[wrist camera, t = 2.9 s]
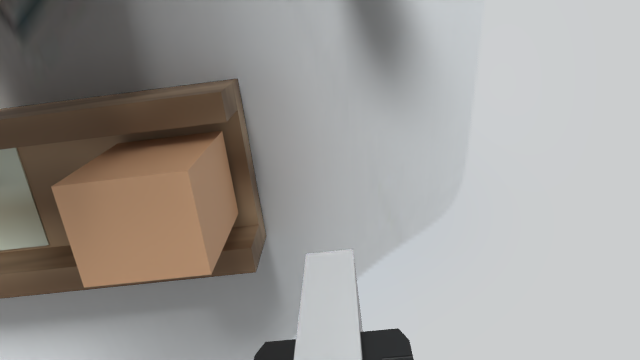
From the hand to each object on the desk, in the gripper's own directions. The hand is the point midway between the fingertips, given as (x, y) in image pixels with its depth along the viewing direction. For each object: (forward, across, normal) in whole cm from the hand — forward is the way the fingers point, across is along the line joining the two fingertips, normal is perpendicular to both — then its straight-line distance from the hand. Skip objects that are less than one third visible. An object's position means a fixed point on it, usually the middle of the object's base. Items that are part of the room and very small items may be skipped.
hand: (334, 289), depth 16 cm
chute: (+15, -16, 0) cm, 22 cm away
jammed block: (+13, -9, 0) cm, 16 cm away
